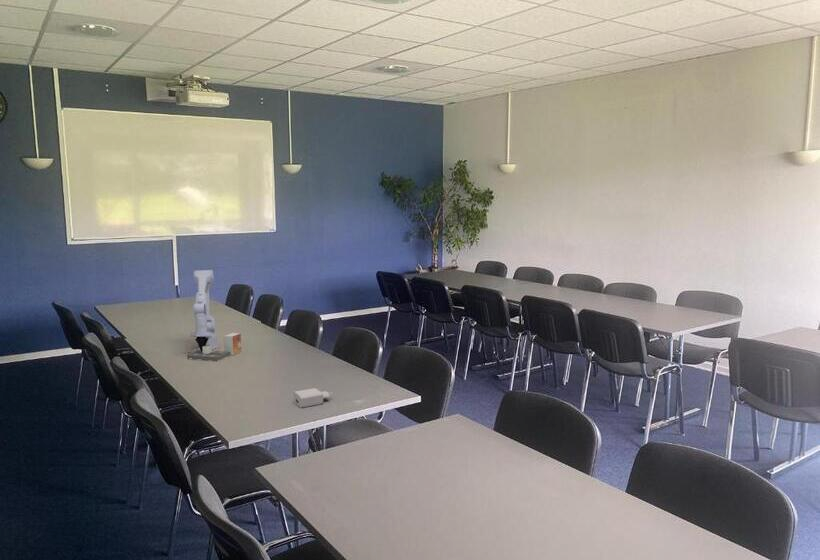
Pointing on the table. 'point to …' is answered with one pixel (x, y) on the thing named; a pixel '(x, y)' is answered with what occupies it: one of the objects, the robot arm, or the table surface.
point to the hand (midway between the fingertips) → (202, 350)
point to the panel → (209, 355)
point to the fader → (207, 349)
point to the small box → (232, 343)
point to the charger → (310, 397)
